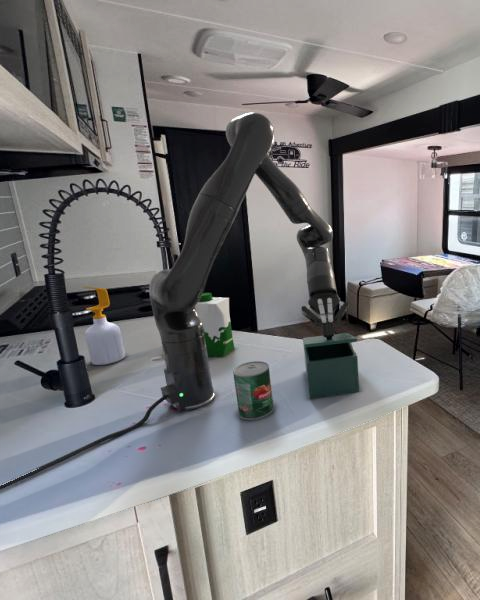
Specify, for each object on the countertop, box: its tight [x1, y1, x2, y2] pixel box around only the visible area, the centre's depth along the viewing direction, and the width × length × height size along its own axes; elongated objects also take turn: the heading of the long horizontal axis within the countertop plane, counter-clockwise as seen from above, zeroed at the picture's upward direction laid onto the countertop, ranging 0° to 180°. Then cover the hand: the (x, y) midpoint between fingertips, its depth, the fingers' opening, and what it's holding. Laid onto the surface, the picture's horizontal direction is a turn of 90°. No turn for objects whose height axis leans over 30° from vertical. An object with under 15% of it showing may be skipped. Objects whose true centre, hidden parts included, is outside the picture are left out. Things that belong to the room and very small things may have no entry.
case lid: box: [302, 332, 358, 348], centre depth 101 cm, size 16×13×1 cm
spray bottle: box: [82, 286, 126, 366], centre depth 121 cm, size 9×9×25 cm
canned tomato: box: [232, 360, 275, 421], centre depth 89 cm, size 8×8×11 cm
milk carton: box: [195, 292, 235, 358], centre depth 125 cm, size 9×9×20 cm
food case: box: [302, 342, 360, 399], centre depth 103 cm, size 16×13×10 cm
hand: (329, 337), depth 98 cm, fingers closed
